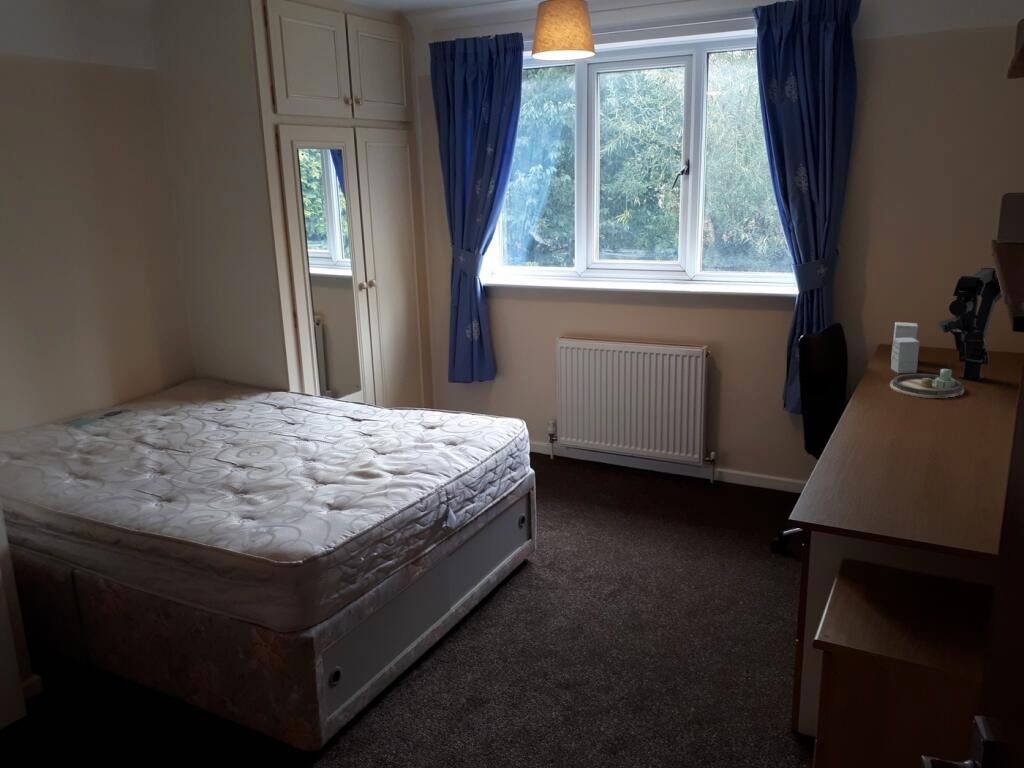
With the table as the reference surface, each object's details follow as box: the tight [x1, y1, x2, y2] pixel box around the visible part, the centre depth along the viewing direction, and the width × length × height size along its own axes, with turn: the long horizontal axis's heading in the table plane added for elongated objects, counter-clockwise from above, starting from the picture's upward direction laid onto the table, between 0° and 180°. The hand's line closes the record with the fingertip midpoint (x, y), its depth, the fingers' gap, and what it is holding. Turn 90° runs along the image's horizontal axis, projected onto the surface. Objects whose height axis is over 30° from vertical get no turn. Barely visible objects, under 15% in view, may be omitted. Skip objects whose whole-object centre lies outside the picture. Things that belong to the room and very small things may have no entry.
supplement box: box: [890, 337, 920, 374], centre depth 309 cm, size 7×7×13 cm
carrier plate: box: [889, 373, 965, 399], centre depth 287 cm, size 24×24×4 cm
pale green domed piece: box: [935, 368, 956, 389], centre depth 285 cm, size 6×6×6 cm
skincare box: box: [890, 321, 919, 361], centre depth 321 cm, size 8×7×16 cm
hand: (962, 354), depth 285 cm, fingers open, 9 cm apart
